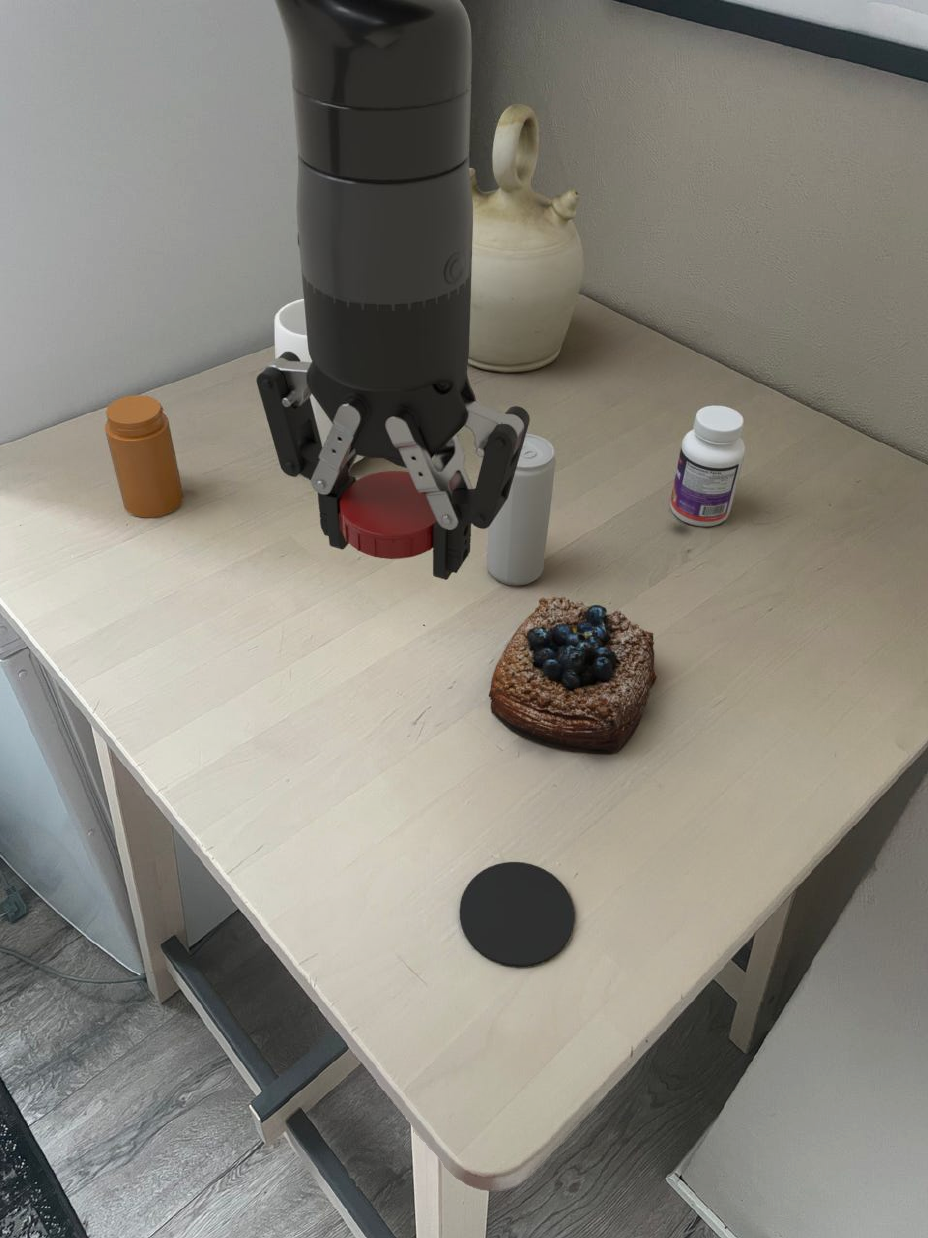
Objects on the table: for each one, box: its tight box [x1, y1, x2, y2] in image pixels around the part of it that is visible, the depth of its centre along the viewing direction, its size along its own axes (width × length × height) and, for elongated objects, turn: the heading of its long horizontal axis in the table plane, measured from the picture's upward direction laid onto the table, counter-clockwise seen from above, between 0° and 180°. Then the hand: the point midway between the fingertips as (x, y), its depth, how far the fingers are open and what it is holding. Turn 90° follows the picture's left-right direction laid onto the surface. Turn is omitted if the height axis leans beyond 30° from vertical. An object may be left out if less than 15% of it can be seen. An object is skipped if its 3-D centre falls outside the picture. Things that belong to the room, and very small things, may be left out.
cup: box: [274, 298, 365, 465], centre depth 93 cm, size 8×8×14 cm
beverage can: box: [486, 433, 556, 587], centre depth 82 cm, size 5×5×12 cm
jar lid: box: [339, 470, 437, 560], centre depth 55 cm, size 6×6×2 cm
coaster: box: [459, 861, 576, 969], centre depth 62 cm, size 7×7×1 cm
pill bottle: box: [669, 405, 746, 528], centre depth 90 cm, size 5×5×10 cm
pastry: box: [488, 596, 658, 755], centre depth 74 cm, size 11×12×6 cm
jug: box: [468, 103, 585, 373], centre depth 105 cm, size 15×16×25 cm
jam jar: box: [104, 394, 184, 519], centre depth 88 cm, size 5×5×9 cm
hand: (394, 553), depth 57 cm, fingers closed on jar lid, 5 cm apart
